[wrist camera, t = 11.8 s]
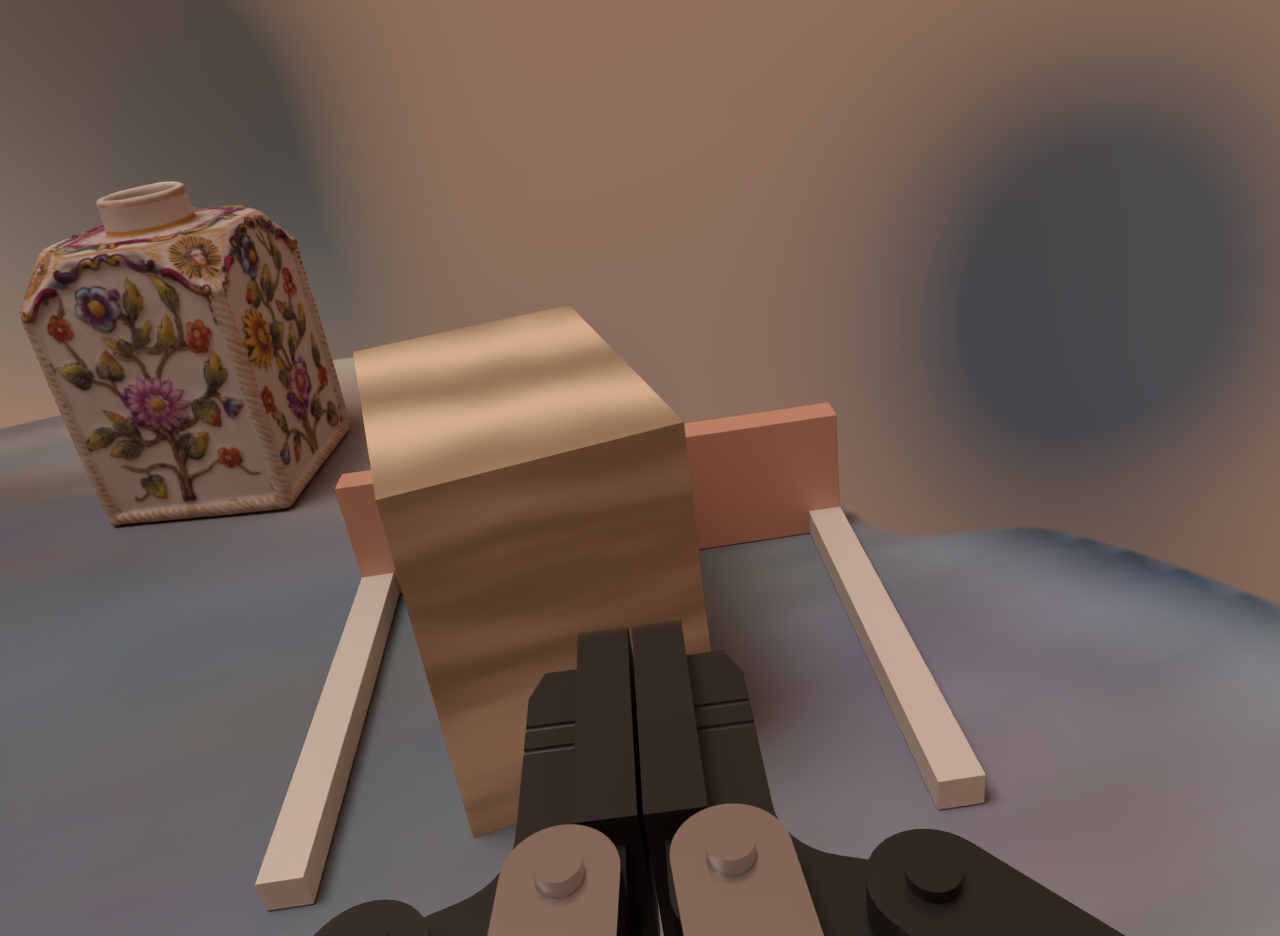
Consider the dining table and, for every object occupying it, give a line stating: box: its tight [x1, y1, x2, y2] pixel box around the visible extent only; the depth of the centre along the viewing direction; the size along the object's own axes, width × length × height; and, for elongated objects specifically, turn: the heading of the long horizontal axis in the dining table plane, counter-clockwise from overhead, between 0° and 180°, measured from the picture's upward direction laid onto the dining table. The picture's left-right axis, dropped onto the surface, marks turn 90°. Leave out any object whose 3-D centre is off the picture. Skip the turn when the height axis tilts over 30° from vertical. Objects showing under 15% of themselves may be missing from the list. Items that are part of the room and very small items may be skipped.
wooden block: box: [353, 305, 711, 838], centre depth 36 cm, size 14×9×13 cm, turn 18°
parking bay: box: [255, 403, 986, 911], centre depth 37 cm, size 19×23×6 cm
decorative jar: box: [20, 182, 349, 526], centre depth 57 cm, size 12×12×18 cm
